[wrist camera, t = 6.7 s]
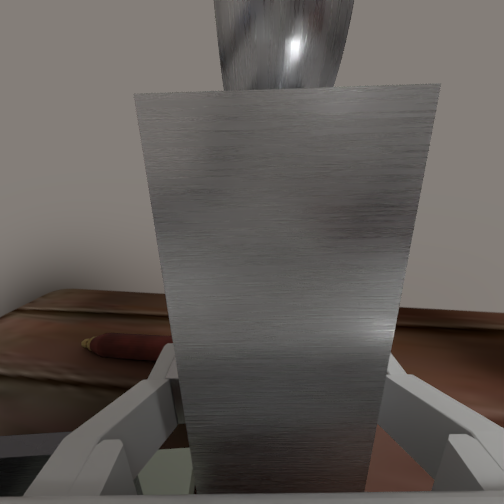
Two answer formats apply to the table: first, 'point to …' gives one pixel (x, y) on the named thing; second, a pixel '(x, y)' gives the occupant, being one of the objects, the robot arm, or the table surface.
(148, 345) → the gavel
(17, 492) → the keeper bracket
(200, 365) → the steel link
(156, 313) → the table surface
